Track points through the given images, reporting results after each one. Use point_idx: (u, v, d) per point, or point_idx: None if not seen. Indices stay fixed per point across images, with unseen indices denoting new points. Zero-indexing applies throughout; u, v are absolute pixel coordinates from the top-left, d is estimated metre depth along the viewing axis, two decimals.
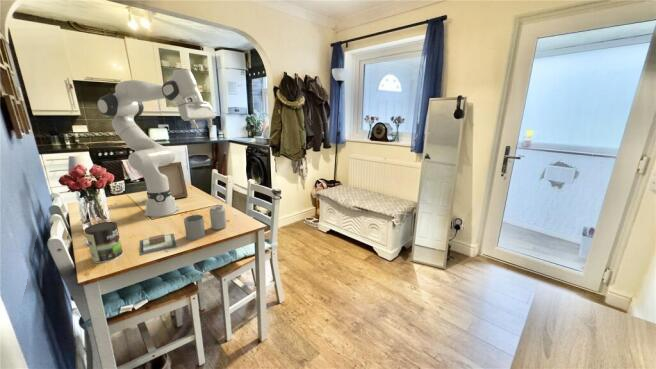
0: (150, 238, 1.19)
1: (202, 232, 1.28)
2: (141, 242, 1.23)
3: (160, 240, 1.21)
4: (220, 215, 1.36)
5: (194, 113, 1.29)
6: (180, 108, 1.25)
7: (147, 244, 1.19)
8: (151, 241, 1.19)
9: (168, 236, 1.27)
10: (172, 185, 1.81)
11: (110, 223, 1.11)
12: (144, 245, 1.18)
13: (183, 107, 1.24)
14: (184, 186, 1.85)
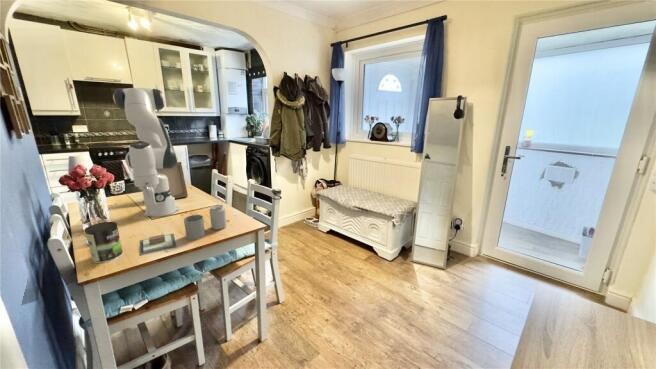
0: (150, 238, 1.19)
1: (202, 232, 1.28)
2: (141, 242, 1.23)
3: (160, 240, 1.21)
4: (220, 215, 1.35)
5: None
6: None
7: (147, 244, 1.19)
8: (151, 241, 1.19)
9: (168, 236, 1.27)
10: (172, 185, 1.81)
11: (110, 223, 1.11)
12: (144, 245, 1.18)
13: None
14: (184, 186, 1.85)
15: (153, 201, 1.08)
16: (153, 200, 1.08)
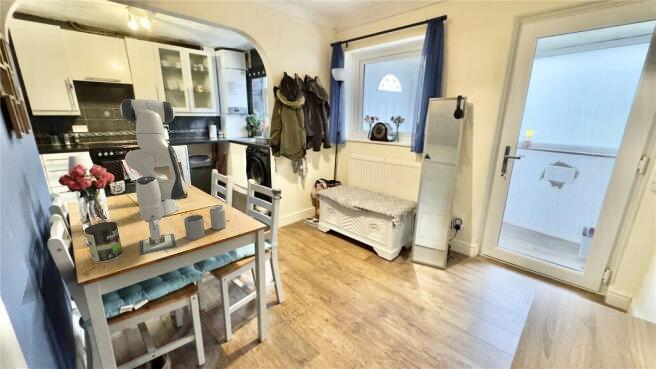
0: (150, 238, 1.19)
1: (202, 232, 1.28)
2: (141, 242, 1.23)
3: (160, 240, 1.21)
4: (220, 215, 1.36)
5: None
6: None
7: (147, 244, 1.19)
8: (151, 241, 1.19)
9: (168, 236, 1.27)
10: None
11: (110, 223, 1.11)
12: (144, 245, 1.18)
13: None
14: None
15: (159, 234, 1.12)
16: (159, 233, 1.12)
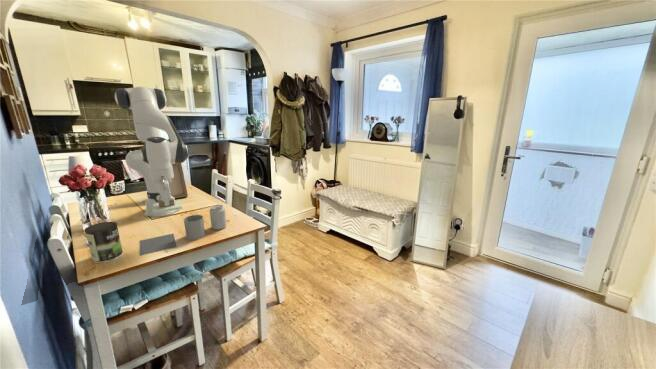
0: (159, 201, 1.18)
1: (202, 232, 1.28)
2: (141, 242, 1.23)
3: (169, 203, 1.19)
4: (220, 215, 1.36)
5: None
6: None
7: (156, 207, 1.18)
8: (160, 203, 1.17)
9: (177, 201, 1.25)
10: (172, 185, 1.81)
11: (110, 223, 1.11)
12: (153, 207, 1.17)
13: None
14: (184, 186, 1.85)
15: (169, 194, 1.10)
16: (169, 193, 1.10)
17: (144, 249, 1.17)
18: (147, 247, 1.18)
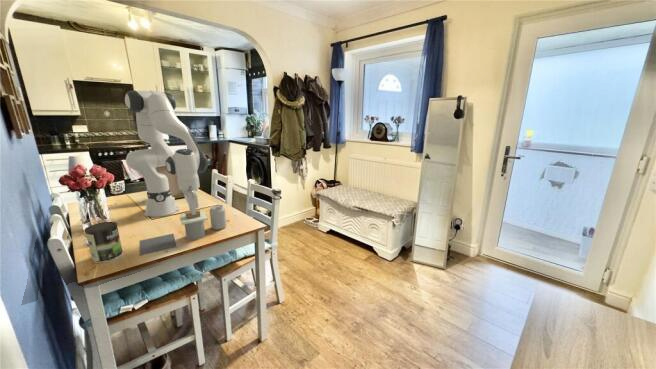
0: (187, 212, 1.25)
1: (202, 232, 1.28)
2: (141, 242, 1.23)
3: (196, 215, 1.26)
4: (220, 215, 1.36)
5: (185, 195, 1.27)
6: None
7: (184, 218, 1.25)
8: (188, 215, 1.24)
9: (202, 212, 1.32)
10: (172, 185, 1.81)
11: (110, 223, 1.11)
12: (181, 219, 1.24)
13: None
14: None
15: (197, 203, 1.17)
16: (197, 202, 1.17)
17: (144, 249, 1.17)
18: (147, 247, 1.18)
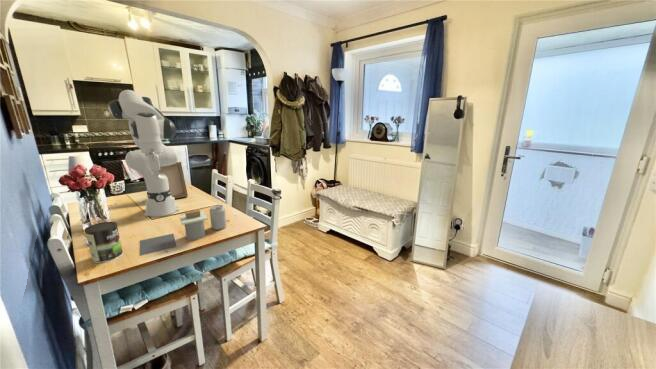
0: (187, 212, 1.25)
1: (202, 232, 1.28)
2: (141, 242, 1.23)
3: (196, 214, 1.26)
4: (220, 215, 1.36)
5: None
6: None
7: (184, 218, 1.25)
8: (188, 215, 1.24)
9: (202, 212, 1.32)
10: (172, 185, 1.81)
11: (110, 223, 1.11)
12: (181, 219, 1.24)
13: None
14: (184, 186, 1.85)
15: (158, 166, 1.18)
16: (158, 165, 1.18)
17: (144, 249, 1.17)
18: (147, 247, 1.18)
